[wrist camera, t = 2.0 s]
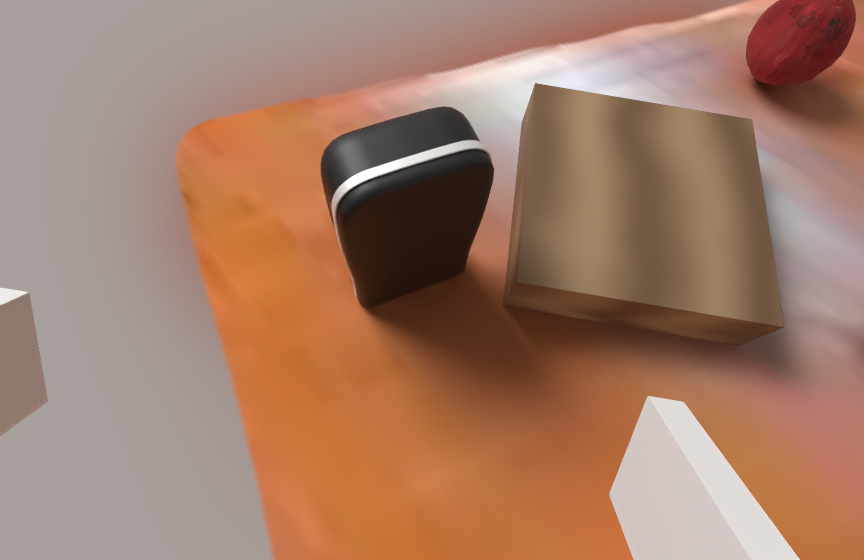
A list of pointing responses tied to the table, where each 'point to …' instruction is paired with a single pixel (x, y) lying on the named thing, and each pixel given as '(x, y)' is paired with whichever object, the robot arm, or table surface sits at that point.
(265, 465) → the table surface
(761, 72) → the onion
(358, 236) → the battery charger
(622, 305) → the walnut slab
